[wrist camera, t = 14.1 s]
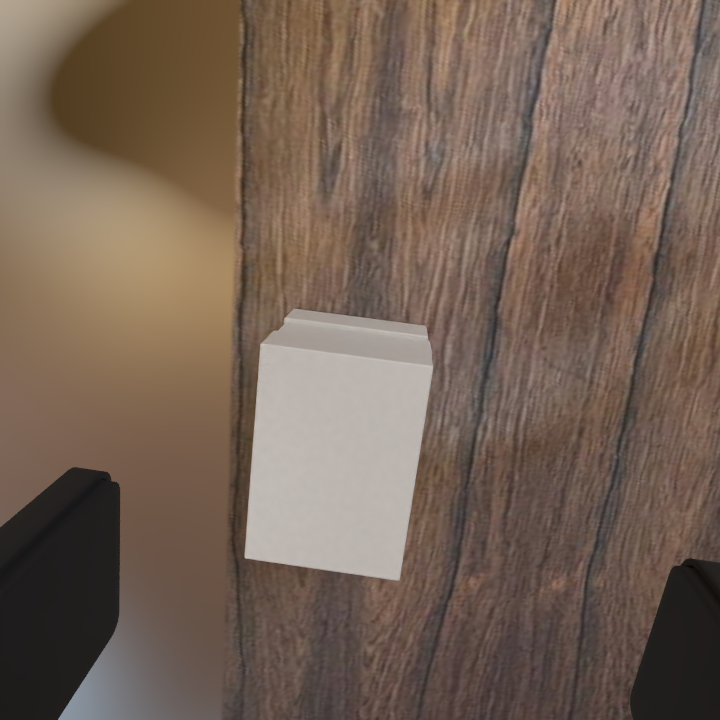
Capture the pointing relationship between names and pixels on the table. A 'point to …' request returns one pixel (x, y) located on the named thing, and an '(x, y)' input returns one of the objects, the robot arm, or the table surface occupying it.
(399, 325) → the white books
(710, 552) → the table surface
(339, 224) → the table surface
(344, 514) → the off-white flat block
